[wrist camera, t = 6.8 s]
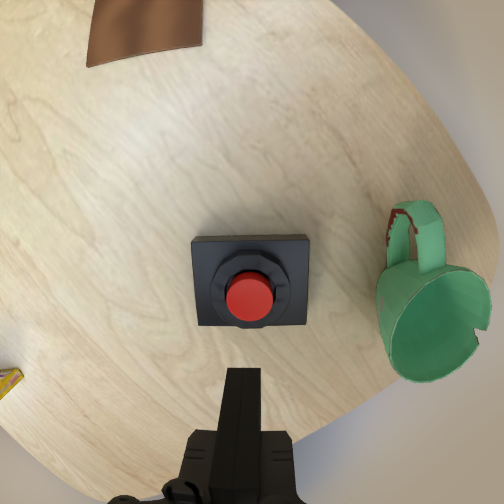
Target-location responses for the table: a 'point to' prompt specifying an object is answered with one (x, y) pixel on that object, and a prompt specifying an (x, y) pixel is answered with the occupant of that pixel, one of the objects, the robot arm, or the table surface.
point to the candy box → (9, 380)
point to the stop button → (249, 296)
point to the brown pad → (142, 28)
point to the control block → (251, 260)
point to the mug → (427, 299)
